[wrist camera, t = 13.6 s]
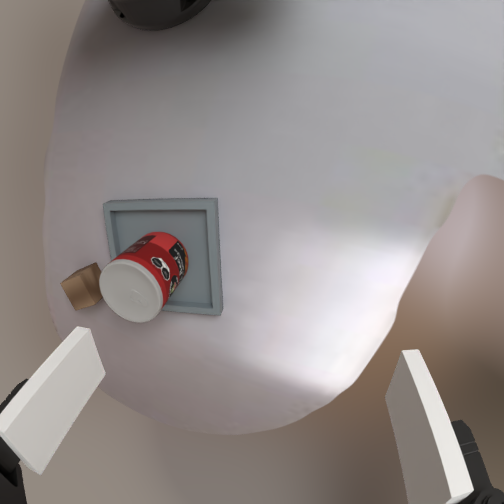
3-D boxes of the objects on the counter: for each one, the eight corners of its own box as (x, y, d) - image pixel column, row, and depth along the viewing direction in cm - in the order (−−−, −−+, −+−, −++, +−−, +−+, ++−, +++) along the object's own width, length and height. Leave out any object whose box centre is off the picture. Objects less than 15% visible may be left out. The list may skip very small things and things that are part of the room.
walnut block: (77, 270, 46) (60, 283, 41) (96, 262, 44) (79, 275, 40) (91, 295, 47) (75, 310, 43) (110, 289, 46) (95, 304, 41)
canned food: (184, 288, 43) (156, 333, 33) (135, 270, 43) (97, 308, 33) (196, 240, 40) (166, 276, 30) (142, 222, 40) (100, 251, 30)
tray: (110, 200, 40) (102, 203, 38) (217, 198, 39) (214, 201, 37) (126, 299, 46) (120, 305, 44) (223, 308, 44) (220, 315, 43)
